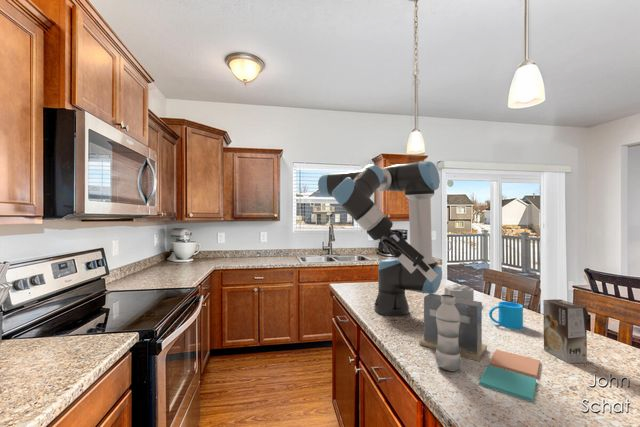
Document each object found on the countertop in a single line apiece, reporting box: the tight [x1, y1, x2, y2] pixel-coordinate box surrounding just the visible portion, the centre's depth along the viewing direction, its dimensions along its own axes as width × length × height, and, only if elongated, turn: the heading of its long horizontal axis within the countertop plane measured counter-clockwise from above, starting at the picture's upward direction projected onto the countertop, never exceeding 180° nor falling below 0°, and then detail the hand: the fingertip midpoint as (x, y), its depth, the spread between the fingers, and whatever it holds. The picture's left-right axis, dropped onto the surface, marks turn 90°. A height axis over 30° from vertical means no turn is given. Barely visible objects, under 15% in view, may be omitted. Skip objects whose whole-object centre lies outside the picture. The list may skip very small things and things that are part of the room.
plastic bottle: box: [434, 293, 462, 372], centre depth 83 cm, size 6×7×20 cm
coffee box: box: [542, 298, 588, 364], centre depth 91 cm, size 9×6×16 cm
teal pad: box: [478, 364, 537, 403], centre depth 76 cm, size 11×11×1 cm
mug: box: [488, 301, 524, 330], centre depth 118 cm, size 12×8×8 cm
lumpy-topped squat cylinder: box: [443, 283, 475, 301], centre depth 148 cm, size 10×13×9 cm
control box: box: [418, 293, 488, 362], centre depth 97 cm, size 18×10×16 cm, turn 51°
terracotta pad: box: [488, 348, 541, 380], centre depth 86 cm, size 11×11×1 cm
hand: (423, 274), depth 89 cm, fingers open, 13 cm apart
